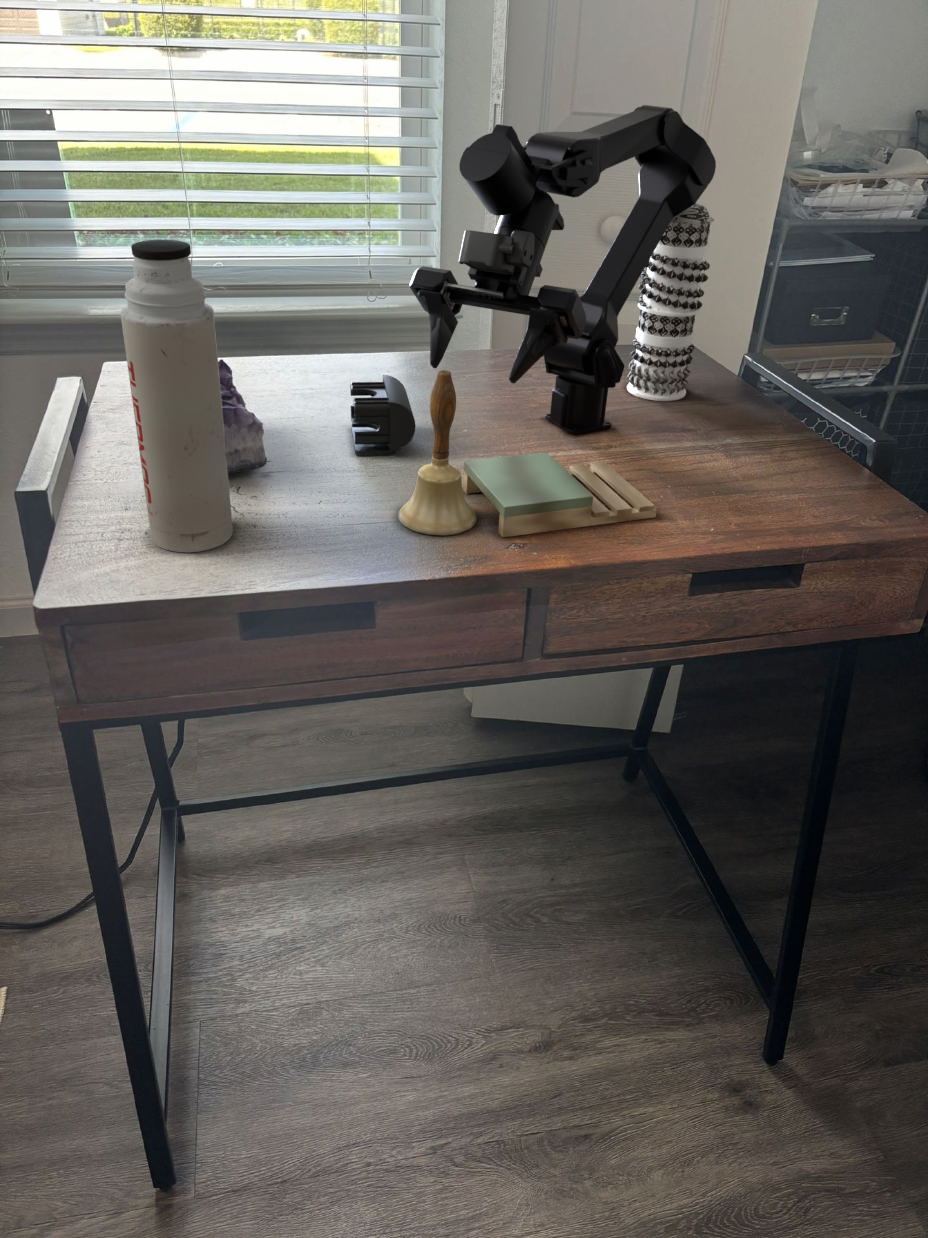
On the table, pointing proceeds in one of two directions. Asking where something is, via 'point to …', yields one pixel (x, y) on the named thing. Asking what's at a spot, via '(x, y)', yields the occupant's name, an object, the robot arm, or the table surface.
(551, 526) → the rack
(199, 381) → the thermos bottle
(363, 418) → the end cap
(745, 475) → the table surface
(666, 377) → the decorative candle
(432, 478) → the hand bell
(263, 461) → the geode
